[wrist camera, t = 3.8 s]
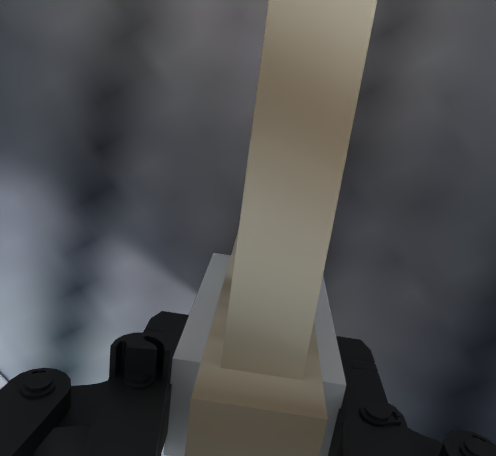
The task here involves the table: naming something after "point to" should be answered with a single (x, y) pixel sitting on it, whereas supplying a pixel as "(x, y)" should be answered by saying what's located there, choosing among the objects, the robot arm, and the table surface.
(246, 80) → the table surface
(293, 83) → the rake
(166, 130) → the table surface
